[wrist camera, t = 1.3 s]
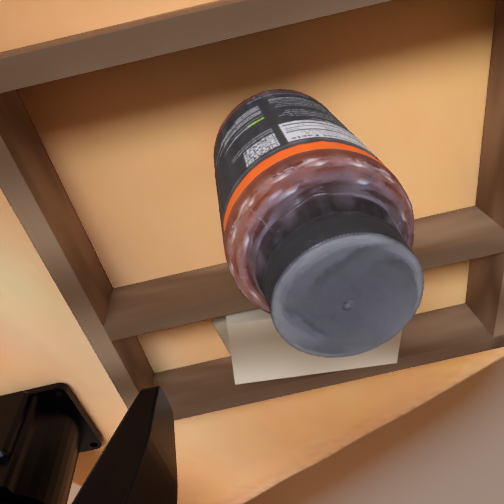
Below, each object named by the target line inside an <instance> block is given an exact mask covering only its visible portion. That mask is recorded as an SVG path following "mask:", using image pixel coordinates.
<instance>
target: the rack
mask: <svg viewBox="0 0 504 504" xmlns="http://www.w3.org/2000/svg"><path fill="white" fill-rule="evenodd" d="M386 1H391V0H219V1H215V2H210V3H206V4H202V5H198V6H194V7H189V8H185V9H181V10H177V11H173V12H169V13H164V14H160V15H156V16H152V17H148V18H143V19H139V20H135V21H131V22H127V23H123V24H118V25H114V26H110V27H106V28H102V29H97V30H93V31H89V32H85V33H81V34H77V35H72V36H68V37H64V38H60V39H56V40H51V41H47V42H43V43H39V44H35V45H31V46H26V47H22V48H18V49H14V50H10V51H5V52H1V53H0V188H1V190H2V191H3V193H4V195H5V197H6V198H7V200H8V202H9V204H10V205H11V207H12V209H13V211H14V212H15V214H16V216H17V217H18V219H19V221H20V223H21V224H22V226H23V228H24V230H25V231H26V233H27V235H28V237H29V238H30V240H31V242H32V243H33V245H34V247H35V249H36V250H37V252H38V254H39V256H40V257H41V259H42V261H43V263H44V264H45V266H46V268H47V269H48V271H49V273H50V275H51V276H52V278H53V280H54V282H55V283H56V285H57V287H58V289H59V290H60V292H61V294H62V295H63V297H64V299H65V301H66V302H67V304H68V306H69V308H70V309H71V311H72V313H73V315H74V316H75V318H76V320H77V321H78V323H79V325H80V327H81V328H82V330H83V332H84V334H85V335H86V337H87V339H88V341H89V342H90V344H91V346H92V347H93V349H94V351H95V353H96V354H97V356H98V358H99V360H100V361H101V363H102V365H103V367H104V368H105V370H106V372H107V373H108V375H109V377H110V379H111V380H112V382H113V384H114V386H115V387H116V389H117V391H118V393H119V394H120V396H121V398H122V399H123V401H124V403H125V405H126V406H127V408H128V409H129V408H130V406H131V404H132V403H133V401H134V399H135V398H136V396H137V394H138V393H139V391H140V390H141V389H142V388H145V387H150V386H154V385H160V386H161V387H162V389H163V391H164V393H165V395H166V397H167V399H168V401H169V403H170V405H171V407H172V411H173V417H174V420H178V419H183V418H187V417H191V416H196V415H200V414H205V413H209V412H214V411H218V410H223V409H227V408H232V407H236V406H241V405H245V404H250V403H254V402H259V401H263V400H267V399H272V398H276V397H281V396H285V395H290V394H294V393H299V392H303V391H308V390H312V389H317V388H321V387H326V386H330V385H334V384H339V383H343V382H348V381H352V380H357V379H361V378H366V377H370V376H375V375H379V374H384V373H388V372H393V371H397V370H402V369H406V368H410V367H415V366H419V365H424V364H428V363H433V362H437V361H442V360H446V359H451V358H455V357H460V356H464V355H469V354H473V353H478V352H482V351H486V350H491V349H495V348H500V347H504V0H497V3H496V13H495V23H494V33H493V42H492V52H491V62H490V71H489V81H488V91H487V101H486V110H485V120H484V130H483V140H482V149H481V159H480V169H479V178H478V188H477V198H476V206H472V207H468V208H463V209H459V210H455V211H450V212H446V213H442V214H437V215H433V216H429V217H424V218H420V219H415V220H414V224H415V234H414V242H413V246H412V252H413V253H414V255H415V256H416V257H417V259H418V261H419V263H420V265H421V268H422V270H426V269H431V268H435V267H439V266H444V265H448V264H453V263H457V262H461V261H466V260H470V266H469V276H468V285H467V295H466V303H465V304H461V305H456V306H452V307H447V308H443V309H438V310H434V311H430V312H425V313H421V314H416V315H414V316H413V317H412V319H411V320H410V321H409V322H408V324H407V325H406V326H405V327H404V328H403V329H402V333H401V340H400V346H399V353H398V359H397V363H394V364H386V365H379V366H371V367H364V368H356V369H349V370H341V371H334V372H326V373H319V374H311V375H304V376H296V377H289V378H281V379H274V380H266V381H259V382H251V383H244V384H236V385H235V380H234V372H233V365H232V358H231V356H230V357H226V358H221V359H217V360H212V361H208V362H204V363H199V364H195V365H190V366H186V367H181V368H177V369H173V370H168V371H164V372H159V373H155V374H154V372H153V370H152V368H151V366H150V364H149V362H148V360H147V358H146V356H145V354H144V352H143V350H142V348H141V346H140V343H139V341H138V339H137V337H136V335H140V334H145V333H149V332H153V331H158V330H162V329H167V328H171V327H175V326H180V325H184V324H189V323H193V322H197V321H202V320H206V319H211V318H215V317H219V316H224V315H228V314H233V313H237V312H241V311H246V310H250V309H255V308H258V307H257V306H256V305H254V304H253V303H252V302H251V301H250V300H249V299H248V298H247V297H246V296H245V295H244V294H243V293H242V291H241V290H240V289H239V288H238V286H237V284H236V283H235V281H234V279H233V277H232V275H231V273H230V270H229V267H228V264H227V263H223V264H219V265H215V266H210V267H206V268H202V269H197V270H193V271H189V272H184V273H180V274H176V275H171V276H167V277H162V278H158V279H154V280H149V281H145V282H141V283H136V284H132V285H128V286H123V287H119V288H114V289H113V288H112V286H111V284H110V282H109V280H108V278H107V276H106V274H105V272H104V270H103V267H102V265H101V263H100V261H99V259H98V257H97V255H96V253H95V251H94V249H93V247H92V245H91V243H90V241H89V239H88V237H87V235H86V233H85V230H84V228H83V226H82V224H81V222H80V220H79V218H78V216H77V214H76V212H75V210H74V208H73V206H72V204H71V202H70V200H69V198H68V196H67V193H66V191H65V189H64V187H63V185H62V183H61V181H60V179H59V177H58V175H57V173H56V171H55V169H54V167H53V165H52V163H51V161H50V159H49V157H48V154H47V152H46V150H45V148H44V146H43V144H42V142H41V140H40V138H39V136H38V134H37V132H36V130H35V128H34V126H33V124H32V122H31V120H30V117H29V115H28V113H27V111H26V109H25V107H24V105H23V103H22V101H21V99H20V97H19V95H18V93H17V91H16V89H20V88H24V87H29V86H33V85H37V84H41V83H45V82H50V81H54V80H58V79H62V78H66V77H71V76H75V75H79V74H83V73H87V72H92V71H96V70H100V69H104V68H109V67H113V66H117V65H121V64H125V63H130V62H134V61H138V60H142V59H146V58H151V57H155V56H159V55H163V54H167V53H172V52H176V51H180V50H184V49H188V48H193V47H197V46H201V45H205V44H210V43H214V42H218V41H222V40H226V39H231V38H235V37H239V36H243V35H247V34H252V33H256V32H260V31H264V30H268V29H273V28H277V27H281V26H285V25H289V24H294V23H298V22H302V21H306V20H311V19H315V18H319V17H323V16H327V15H332V14H336V13H340V12H344V11H348V10H353V9H357V8H361V7H365V6H369V5H374V4H378V3H382V2H386Z"/></svg>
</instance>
